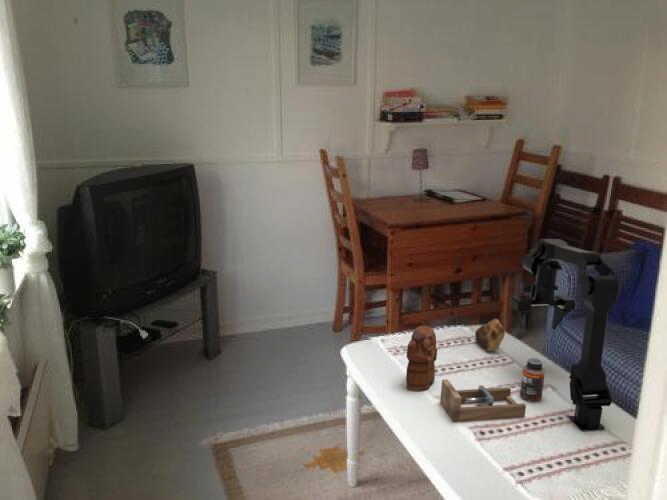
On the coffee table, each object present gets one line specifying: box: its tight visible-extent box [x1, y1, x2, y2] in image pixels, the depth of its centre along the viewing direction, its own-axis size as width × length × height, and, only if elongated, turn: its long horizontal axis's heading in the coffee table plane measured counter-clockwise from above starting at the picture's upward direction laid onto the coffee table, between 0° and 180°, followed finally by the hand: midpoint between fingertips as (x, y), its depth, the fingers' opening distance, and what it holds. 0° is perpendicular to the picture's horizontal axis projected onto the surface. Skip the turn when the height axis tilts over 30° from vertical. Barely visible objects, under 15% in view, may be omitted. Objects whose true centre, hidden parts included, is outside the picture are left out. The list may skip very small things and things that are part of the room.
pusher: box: [465, 385, 494, 406], centre depth 161 cm, size 7×6×5 cm
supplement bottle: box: [519, 357, 546, 402], centre depth 168 cm, size 6×6×11 cm
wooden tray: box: [439, 379, 527, 423], centre depth 161 cm, size 10×20×7 cm, turn 100°
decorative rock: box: [474, 318, 506, 352], centre depth 200 cm, size 12×6×11 cm, turn 14°
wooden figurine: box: [405, 325, 438, 392], centre depth 172 cm, size 12×6×18 cm, turn 149°
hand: (539, 329), depth 180 cm, fingers open, 9 cm apart
